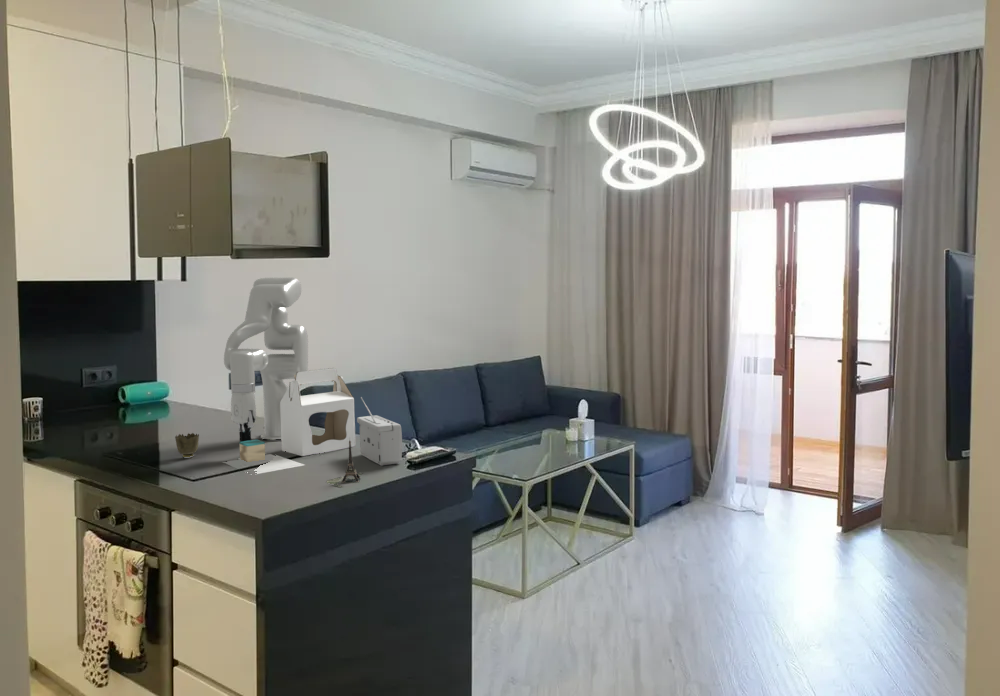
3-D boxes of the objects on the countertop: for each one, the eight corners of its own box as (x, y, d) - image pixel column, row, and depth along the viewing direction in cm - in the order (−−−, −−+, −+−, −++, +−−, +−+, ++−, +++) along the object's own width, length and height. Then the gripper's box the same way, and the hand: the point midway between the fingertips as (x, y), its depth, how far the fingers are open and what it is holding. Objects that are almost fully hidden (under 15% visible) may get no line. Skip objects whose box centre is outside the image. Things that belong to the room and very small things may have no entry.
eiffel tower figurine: (359, 474, 245) (358, 431, 244) (381, 479, 238) (380, 435, 237) (319, 484, 234) (317, 439, 233) (340, 489, 227) (339, 443, 226)
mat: (219, 462, 260) (219, 461, 260) (271, 454, 272) (271, 453, 272) (252, 475, 242) (252, 474, 242) (305, 465, 254) (305, 465, 254)
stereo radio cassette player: (403, 464, 255) (402, 402, 253) (379, 467, 251) (377, 404, 249) (379, 452, 273) (378, 394, 271) (356, 455, 269) (355, 396, 267)
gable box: (334, 441, 292) (332, 365, 290) (356, 446, 283) (354, 368, 281) (280, 451, 276) (277, 371, 274) (302, 457, 267) (299, 374, 265)
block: (240, 459, 262) (239, 442, 262) (257, 457, 266) (256, 439, 266) (248, 462, 258) (247, 444, 257) (265, 459, 262) (264, 442, 261)
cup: (199, 455, 272) (198, 432, 271) (201, 459, 265) (199, 435, 265) (175, 457, 269) (174, 434, 268) (176, 461, 262) (175, 437, 261)
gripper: (223, 387, 267) (225, 441, 268) (242, 392, 256) (244, 448, 257) (244, 385, 272) (246, 438, 273) (264, 389, 261) (266, 444, 262)
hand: (245, 443), depth 265 cm, fingers closed
